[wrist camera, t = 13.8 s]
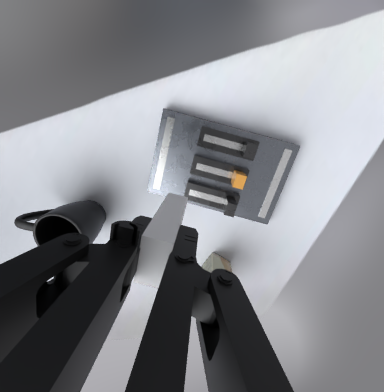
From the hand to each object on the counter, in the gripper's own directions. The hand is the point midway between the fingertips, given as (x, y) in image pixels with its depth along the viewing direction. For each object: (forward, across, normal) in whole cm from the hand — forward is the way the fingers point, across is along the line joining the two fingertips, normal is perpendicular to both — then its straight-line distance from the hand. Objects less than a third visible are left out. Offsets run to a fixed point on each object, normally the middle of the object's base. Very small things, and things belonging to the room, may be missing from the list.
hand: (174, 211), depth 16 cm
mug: (+21, -19, -14) cm, 32 cm away
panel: (+21, +4, 0) cm, 21 cm away
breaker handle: (+18, +7, 0) cm, 19 cm away
